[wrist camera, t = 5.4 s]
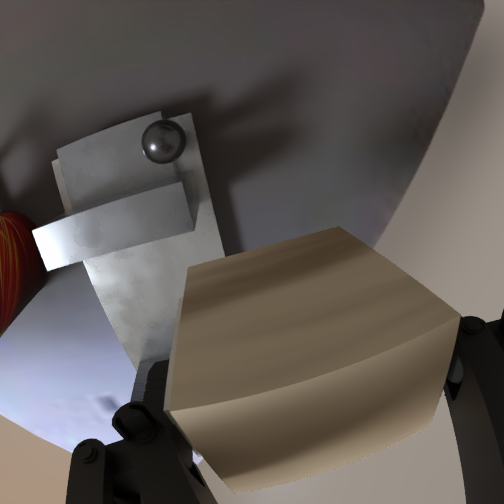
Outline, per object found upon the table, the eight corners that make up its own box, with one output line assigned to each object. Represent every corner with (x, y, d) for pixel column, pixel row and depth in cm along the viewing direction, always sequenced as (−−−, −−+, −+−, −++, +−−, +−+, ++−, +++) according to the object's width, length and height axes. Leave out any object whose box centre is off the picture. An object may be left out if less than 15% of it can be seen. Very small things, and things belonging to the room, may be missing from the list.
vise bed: (58, 160, 22) (5, 172, 14) (192, 114, 22) (181, 101, 14) (147, 377, 32) (138, 433, 24) (253, 358, 32) (265, 416, 24)
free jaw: (58, 152, 20) (3, 163, 13) (186, 107, 21) (173, 90, 13) (83, 237, 23) (40, 277, 16) (209, 202, 24) (207, 233, 16)
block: (188, 267, 13) (169, 411, 5) (339, 226, 13) (460, 314, 6) (219, 353, 15) (234, 493, 7) (348, 315, 15) (429, 426, 7)
